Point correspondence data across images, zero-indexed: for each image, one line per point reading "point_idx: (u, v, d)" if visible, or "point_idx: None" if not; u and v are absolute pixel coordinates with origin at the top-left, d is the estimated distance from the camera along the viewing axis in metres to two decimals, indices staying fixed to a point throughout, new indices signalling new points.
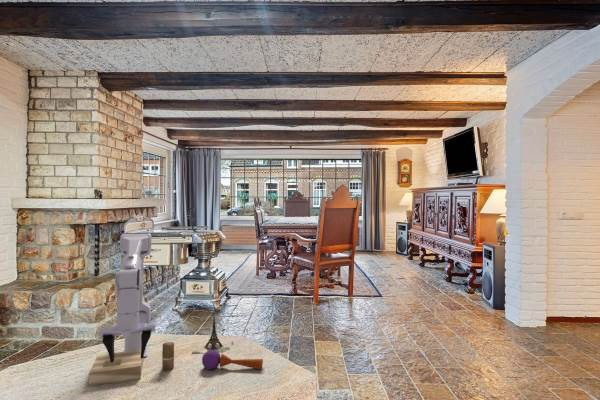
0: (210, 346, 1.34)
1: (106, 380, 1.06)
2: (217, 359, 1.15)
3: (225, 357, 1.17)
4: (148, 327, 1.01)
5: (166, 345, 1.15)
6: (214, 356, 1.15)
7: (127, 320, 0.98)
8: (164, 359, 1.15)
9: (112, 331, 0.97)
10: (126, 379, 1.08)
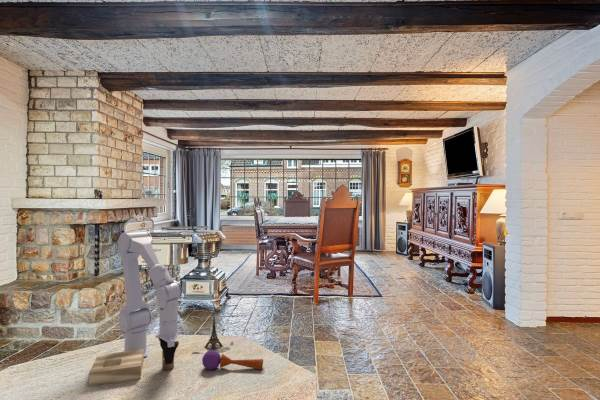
0: (210, 346, 1.34)
1: (106, 380, 1.06)
2: (217, 360, 1.15)
3: (225, 357, 1.16)
4: (166, 340, 1.11)
5: None
6: (214, 357, 1.15)
7: (159, 326, 1.15)
8: (164, 359, 1.15)
9: None
10: (126, 379, 1.08)
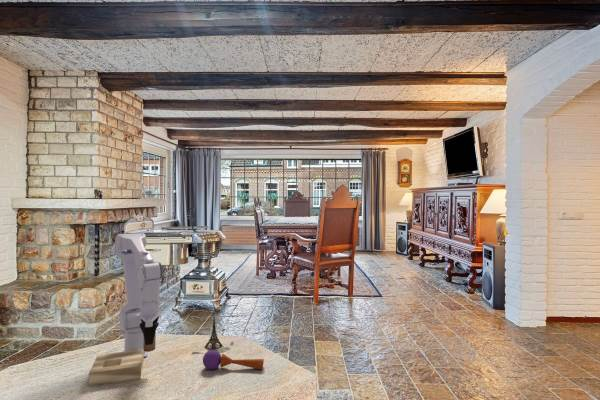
0: (210, 346, 1.34)
1: (106, 380, 1.06)
2: (218, 359, 1.15)
3: (226, 357, 1.16)
4: (144, 320, 1.09)
5: None
6: (215, 356, 1.15)
7: (140, 306, 1.13)
8: None
9: None
10: (126, 379, 1.08)
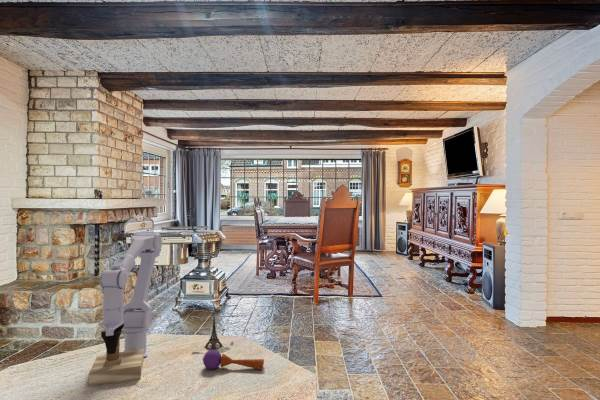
0: (210, 346, 1.34)
1: (106, 380, 1.06)
2: (218, 359, 1.15)
3: (226, 357, 1.17)
4: (105, 329, 1.06)
5: None
6: (215, 356, 1.15)
7: (103, 314, 1.10)
8: None
9: None
10: (126, 379, 1.08)
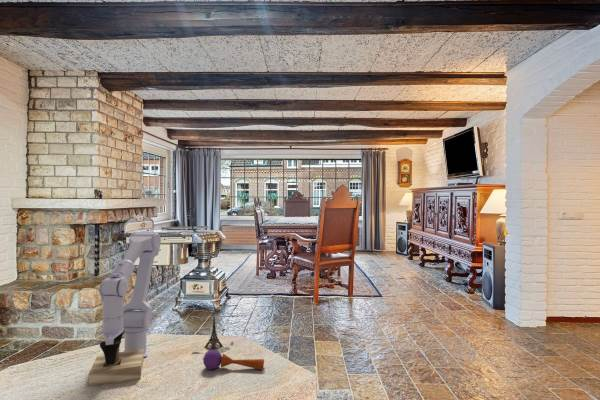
0: (210, 346, 1.34)
1: (106, 380, 1.06)
2: (218, 359, 1.15)
3: (226, 357, 1.16)
4: (105, 338, 1.06)
5: None
6: (215, 356, 1.15)
7: None
8: None
9: None
10: (126, 379, 1.08)
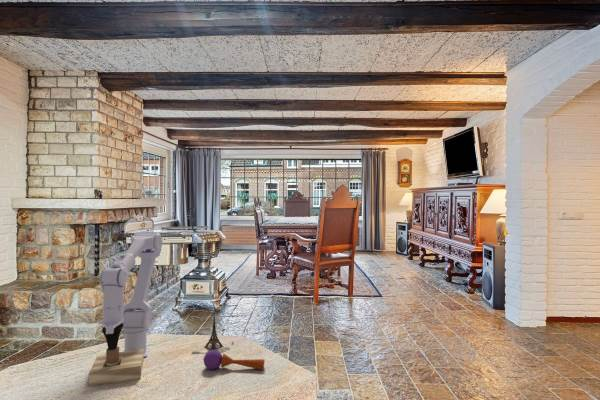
0: (210, 346, 1.34)
1: (106, 380, 1.06)
2: (219, 359, 1.15)
3: (227, 357, 1.16)
4: (105, 327, 1.06)
5: (110, 350, 1.10)
6: (216, 356, 1.15)
7: (103, 312, 1.10)
8: (107, 364, 1.09)
9: None
10: (126, 379, 1.08)
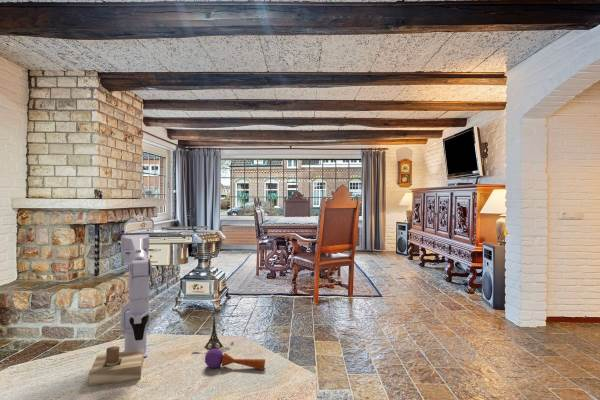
0: (210, 346, 1.34)
1: (106, 380, 1.06)
2: (219, 358, 1.16)
3: (227, 356, 1.17)
4: (133, 317, 1.08)
5: (110, 350, 1.10)
6: (217, 355, 1.16)
7: (129, 303, 1.13)
8: (107, 364, 1.09)
9: None
10: (126, 379, 1.08)
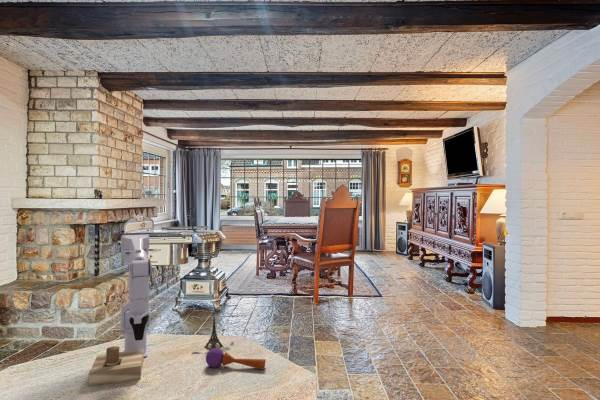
0: (210, 346, 1.34)
1: (106, 380, 1.06)
2: (220, 358, 1.17)
3: (228, 356, 1.17)
4: (133, 317, 1.08)
5: (110, 350, 1.10)
6: (217, 354, 1.16)
7: (129, 303, 1.13)
8: (107, 364, 1.09)
9: None
10: (126, 379, 1.08)
